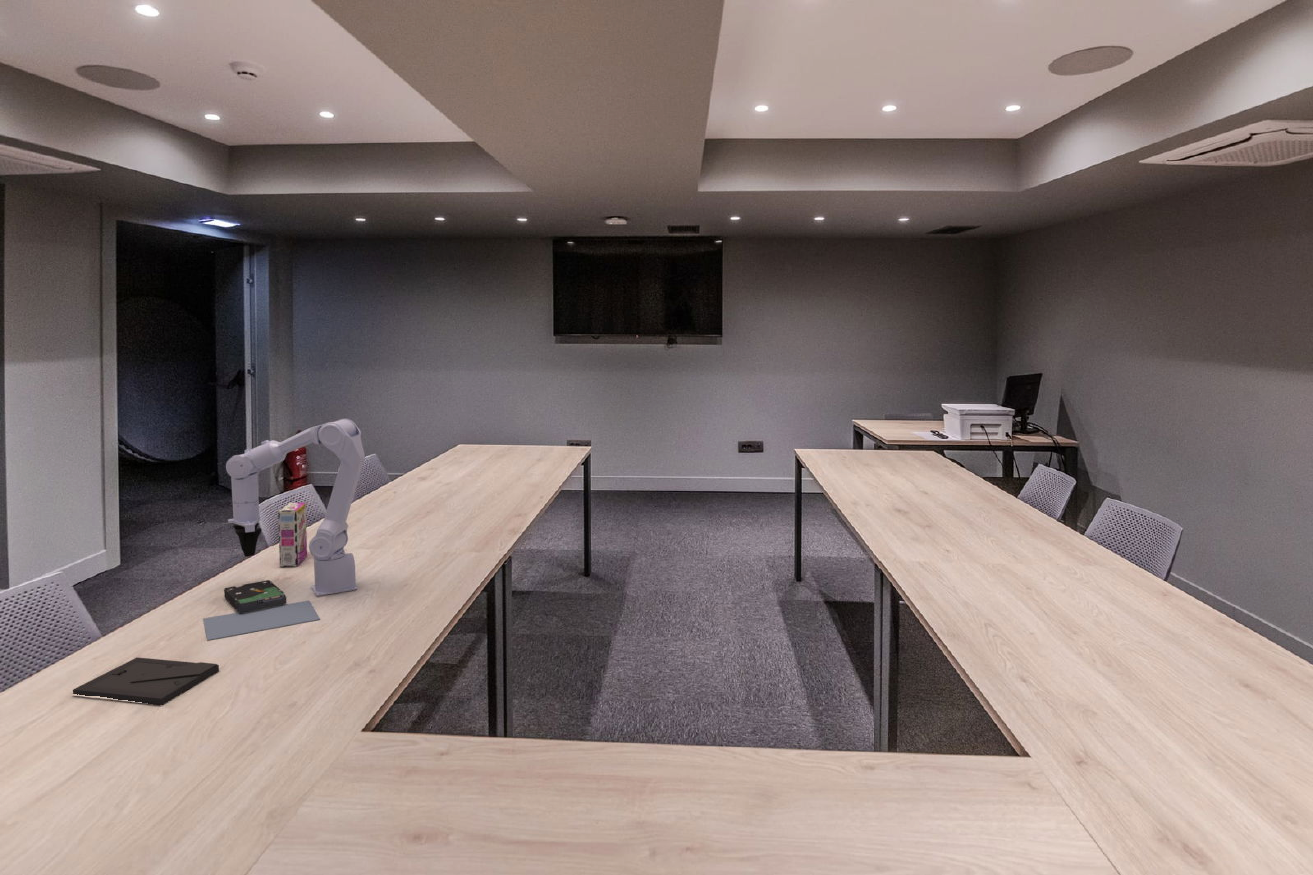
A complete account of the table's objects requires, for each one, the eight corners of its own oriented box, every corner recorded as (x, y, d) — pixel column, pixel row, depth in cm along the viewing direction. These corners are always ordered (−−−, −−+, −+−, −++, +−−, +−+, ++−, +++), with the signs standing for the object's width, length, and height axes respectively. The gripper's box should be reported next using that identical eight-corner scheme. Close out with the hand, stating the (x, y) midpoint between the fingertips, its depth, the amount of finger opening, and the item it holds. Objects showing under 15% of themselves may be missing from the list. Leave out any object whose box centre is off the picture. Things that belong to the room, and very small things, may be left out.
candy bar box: (298, 567, 199) (296, 510, 197) (279, 568, 198) (276, 511, 195) (308, 555, 210) (306, 501, 207) (290, 556, 208) (287, 502, 206)
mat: (309, 601, 173) (309, 600, 173) (320, 619, 162) (320, 618, 162) (203, 619, 161) (203, 618, 161) (207, 640, 149) (207, 639, 149)
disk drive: (223, 599, 174) (239, 615, 163) (222, 588, 173) (238, 603, 163) (269, 589, 181) (288, 604, 170) (269, 579, 180) (287, 593, 170)
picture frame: (219, 674, 136) (137, 666, 139) (218, 663, 136) (136, 655, 138) (162, 709, 123) (73, 699, 125) (161, 697, 123) (71, 688, 125)
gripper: (224, 497, 181) (227, 548, 183) (229, 508, 170) (232, 563, 171) (256, 494, 185) (258, 544, 187) (263, 505, 174) (265, 558, 175)
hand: (248, 553), depth 180 cm, fingers open, 4 cm apart
